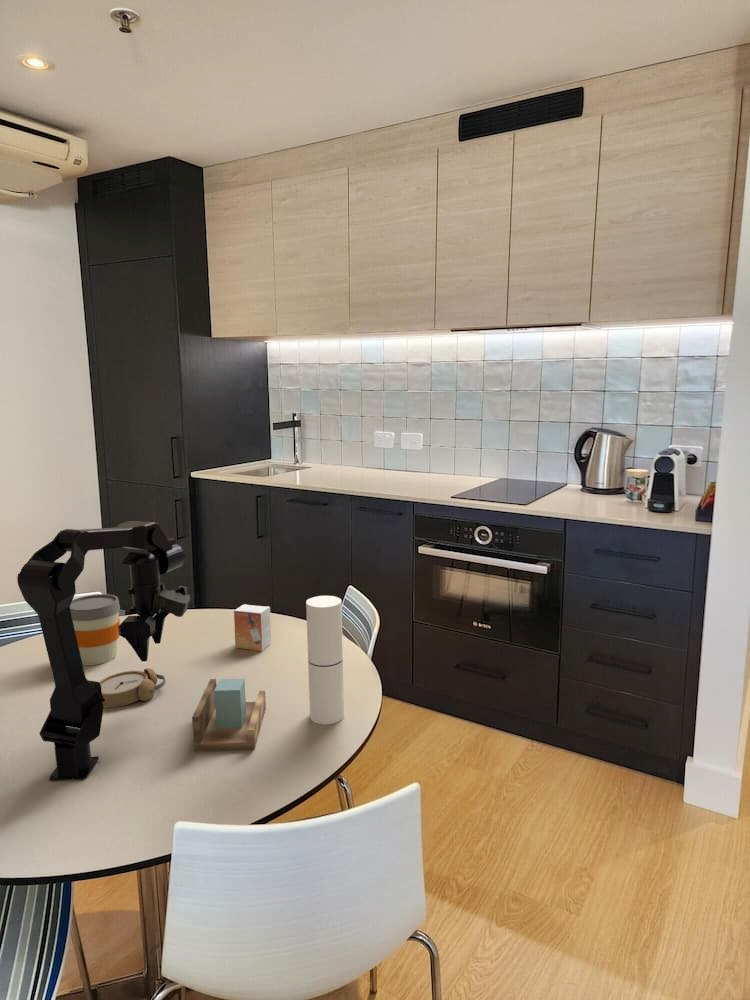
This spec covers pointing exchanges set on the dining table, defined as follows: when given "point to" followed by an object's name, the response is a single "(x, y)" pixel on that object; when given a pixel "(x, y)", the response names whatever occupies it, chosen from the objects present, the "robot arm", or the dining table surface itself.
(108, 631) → the reusable coffee cup
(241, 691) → the teal block
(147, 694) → the alarm clock
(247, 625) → the small box
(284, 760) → the dining table surface
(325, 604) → the cylindrical container
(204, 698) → the cleat board
